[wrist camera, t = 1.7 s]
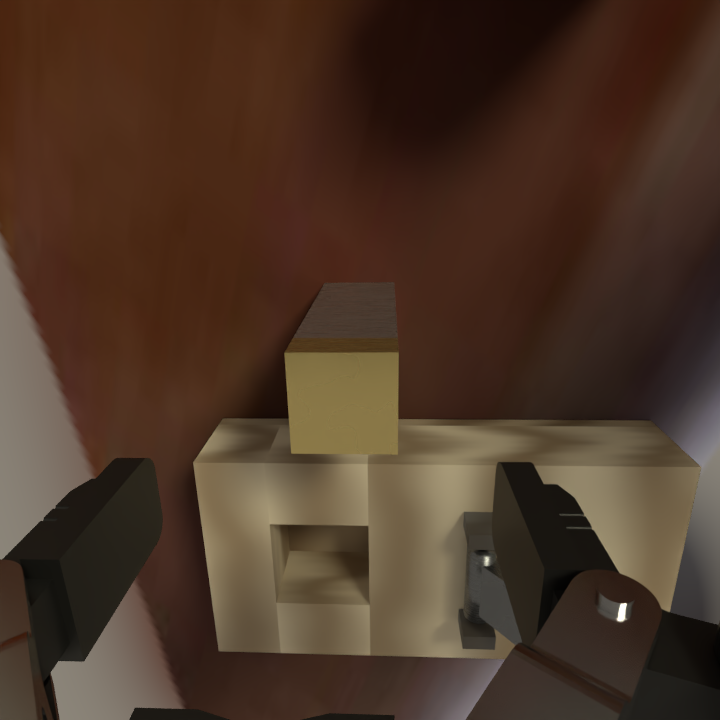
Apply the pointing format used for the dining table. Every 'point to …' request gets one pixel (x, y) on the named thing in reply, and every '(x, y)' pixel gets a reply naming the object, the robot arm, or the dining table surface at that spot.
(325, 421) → the pin
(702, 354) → the dining table surface
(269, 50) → the dining table surface
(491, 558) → the lever
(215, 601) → the block
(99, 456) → the dining table surface
